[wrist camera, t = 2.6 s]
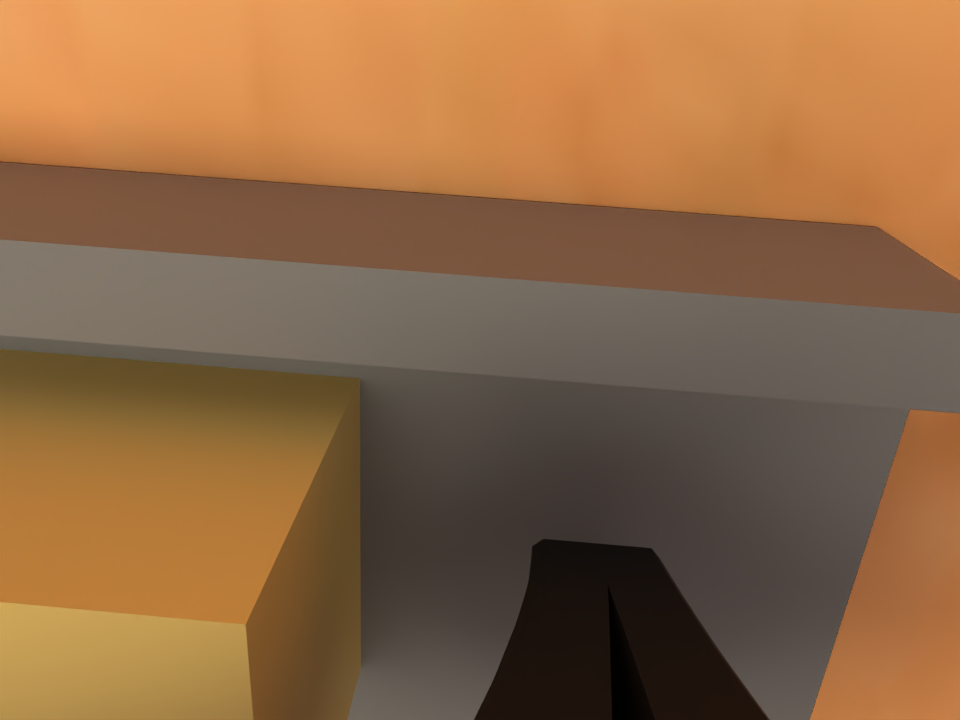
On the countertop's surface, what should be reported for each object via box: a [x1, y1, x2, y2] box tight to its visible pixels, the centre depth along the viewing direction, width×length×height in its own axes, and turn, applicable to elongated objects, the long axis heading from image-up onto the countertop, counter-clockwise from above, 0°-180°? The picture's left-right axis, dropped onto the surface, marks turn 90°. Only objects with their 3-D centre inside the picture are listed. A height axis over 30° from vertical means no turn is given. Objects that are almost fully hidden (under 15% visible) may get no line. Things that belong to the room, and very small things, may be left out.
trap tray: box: [0, 162, 960, 720], centre depth 12 cm, size 20×14×3 cm
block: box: [0, 349, 361, 720], centre depth 8 cm, size 4×4×4 cm
